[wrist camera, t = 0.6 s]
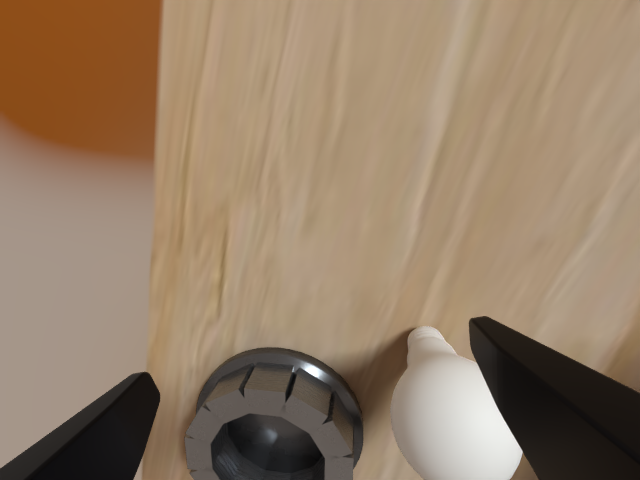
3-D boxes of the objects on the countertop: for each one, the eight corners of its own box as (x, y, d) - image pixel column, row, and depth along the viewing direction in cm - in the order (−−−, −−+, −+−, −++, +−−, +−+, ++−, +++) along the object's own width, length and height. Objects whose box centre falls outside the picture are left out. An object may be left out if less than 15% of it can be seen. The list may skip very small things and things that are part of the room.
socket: (359, 496, 28) (359, 549, 24) (207, 475, 30) (184, 522, 26) (367, 355, 25) (368, 391, 21) (195, 340, 26) (167, 371, 23)
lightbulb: (477, 307, 23) (577, 435, 12) (453, 379, 24) (523, 548, 14) (391, 289, 23) (417, 397, 13) (373, 361, 25) (382, 511, 14)
